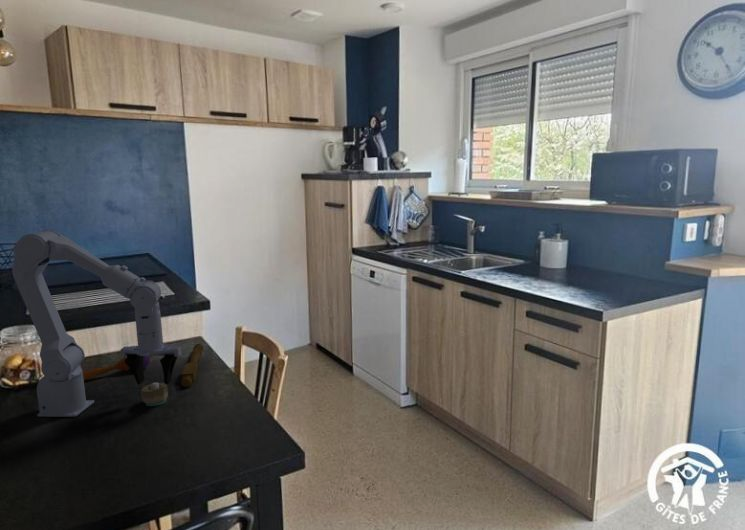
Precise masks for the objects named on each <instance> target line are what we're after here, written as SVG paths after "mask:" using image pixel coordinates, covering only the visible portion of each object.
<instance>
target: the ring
mask: <svg viewBox="0 0 745 530" xmlns="http://www.w3.org/2000/svg"><path fill="white" fill-rule="evenodd" d="M158 383H159V388H158V389H155V390H151V388H150V384H148V385H144V386H143V387H142V388H141V389H140V394H141V399H142V400H141V401H142V402H143V403H156V402H159V401H162V400H165V399H166V398H168V397H169V391H168V384H165V382H158Z"/></svg>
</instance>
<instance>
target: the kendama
mask: <svg viewBox="0 0 745 530" xmlns="http://www.w3.org/2000/svg"><path fill="white" fill-rule="evenodd" d="M150 358H151V357H150V356H149V355H148V356H144V358H143V370H144V369H146V368H147V367H148V366H149V364H150V361H151V360H150ZM125 359H127V356H123V358H122V359H120V360H119V361H117V362H116V363H115V364H114V365H110V366H109V365H108V366H104V367H98V368H92V369H87V370H82V372H83V380H84V382H85V381H87V380H90V379H93V378H96V377H98V376H101V375H103V374H105V373H108V372H110V371H113V370H117V371H119V370H120V371H128V372H129V371H130V368H129V367H128V365H127V364H126V363H125Z"/></svg>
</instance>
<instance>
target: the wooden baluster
mask: <svg viewBox="0 0 745 530" xmlns="http://www.w3.org/2000/svg"><path fill="white" fill-rule="evenodd" d="M203 351H204V345H203V344H201V343H196V344H195V345H194V347H193V349H192V352H191V355H190V359H189V362H188V363H185V364H184V368H183V369H182V373H181V383H180V384H181V386H182V387H184V388H190V387H191V386H192V385H193V383H195V381H196V378H197V374H198V363H199V361H200V358H201V355H202V353H203Z"/></svg>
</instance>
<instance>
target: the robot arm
mask: <svg viewBox="0 0 745 530" xmlns="http://www.w3.org/2000/svg"><path fill="white" fill-rule="evenodd" d="M12 250H13V253H14V257H13V262H12V263H13V264H12V269H11V273H12V277H13V279H14V283H15V284H16V286H17V288H18V291H19V294H20V295H21V298H22V300H23V302H24V306H25V307H26V309H27V312H28V314H29V316H30V318H31V321H32V323H33V326H34V327H35V330H36V333H37V335H38V337H39V340H40V342H41V346H40V351H39V357H40V360H41V366H40V368H41V369H40V370H41V373H42V375H43V376H41V378H40V379H39V381H38V383H37V386H36V397H37V401H38V402H37V403H38V410H39V413H37V417H44V418H45V417H49V418H50V417H52V418H53V417H56V418H57V417H58V418H59V417H60V418H62V417H64V418H65V417H66V418H68V417H69V418H74V417H77V416H79V415H80V414H81V413H83V411H85V410H86V409H87V408H89V407H90V406H91V405H94V403H95V400H93V399H92V400H91V399H90V400H87V398H86V397H87V396H86V387H85V381H84V380H83V372H82V371H83V369H82V365H81V364H82V363H83V362H84V361H85V356H86V354H85V351H84V349H83V348H82V347H81V346H80V345H79V344H78V343H77V342H76V340H75V338H74V336H71V335H70V334H69V333H67V331H66V328H65V326H64V323H63V322H62V319H61V316H60V313H59V311H58V309H57V306H56V304H55V302H54V299H53V297H52V295H51V292H50V290H49V288H48V285H47V282H46V281H45V277H44V275H43V272H44V270H45V269H46V268H47V266H48V265H49V263H50V262H51V261H54V262H55V261H67V262H71V263H72V264H74V265H76V266H78V267H80V268H82V269H83V270H86V271H87V272H90V273H92V274H93V275H95V276H97V277H99V278H100V280H101V283H102V285H103V286H104V287H106V288H109V289H110V290H112V291H113V292H115V293H117V294H118V295H121V296H122V297H123V298H126V299H129V303H130V304H131V305H132V307H134V318H135V328H136V329H135V330H136V338H137V340H136V341H137V345H130V346H128V345H127V346H123V347H122V348H121V349H120V357H126V359H125V363H126V364H127V365H128V367H129V370H130V371H131V373H132V375H133V377H134V379H135V380H136V384H137V385H141V384H142V383H144V381H145V372H144V369H143V358H144V356H148V355H149V357H150V356H152V357H153V356H157V357H159V356H160V357H161V356H162V358H160V360H159V361H160V362H159V363H160V364H161V367H162V373H163V380H164V381H163V383H165V384H166V385H169V384H170V382H172V377H173V370H174V367H175V365H176V362H177V359H178V357H180V356H181V355H182V354H183V352H182V346H176V345H168V344H164V336H163V328H162V316H161V309H160V302H159V299H160V298H161V295H162V290H161V288H160V286H159V284H157V283H156V282H155V281H153V280H146V278H145V277H143V276H142V277H140V276H138V275H137V274H135V273H133V272H132V271H129V270H128V269H129V267H128V266H127V265H122V266H121V265H119V264H114V265H109V264H108V263H106V262H104V261H103V260H102V259H100V258H98V257H97V256H95V255H94V254H92V253H91V252H89V251H87V250H86V249H84V248H83V247H82V246H81V245H78V244H77V243H75V242H74V241H72V239H70V238H69V237H67V236H65V235H61V234H60V233H59V232H57V231H55V230H52V229H46V230H42V231H41V232H40V231H39V232H35V233H28V234H24V235H23V236H21V237H20V238H19V240H18V241H17V242H16V243H15V245H14V246H13V247H12Z"/></svg>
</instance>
